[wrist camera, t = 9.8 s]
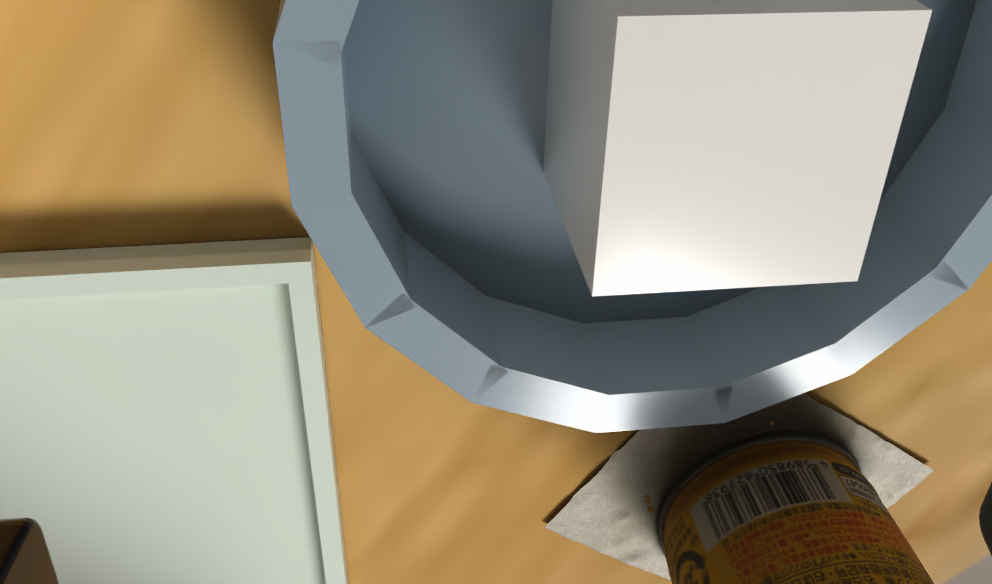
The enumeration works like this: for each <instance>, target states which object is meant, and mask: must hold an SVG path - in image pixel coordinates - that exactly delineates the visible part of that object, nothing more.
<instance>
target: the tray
mask: <svg viewBox="0 0 992 584" xmlns="http://www.w3.org/2000/svg"><path fill="white" fill-rule="evenodd" d="M14 518H32V519H34V520H36V521H37V522H38V524H39V525H40V527H41V529H42V531H43V534H44V538H45V541H46V544H47V547H48V550H49V553H50V556H51V560H52V563H53V566H54V569H55V572H56V575H57V578H58V582H59V584H349V582H348V573H347V563H346V554H345V544H344V535H343V525H342V516H341V506H340V497H339V487H338V478H337V468H336V459H335V449H334V440H333V430H332V421H331V411H330V402H329V392H328V383H327V373H326V364H325V354H324V345H323V335H322V326H321V316H320V307H319V297H318V288H317V279H316V269H315V260H314V250H313V241H312V239H311V237H302V238H283V239H263V240H244V241H224V242H205V243H186V244H166V245H147V246H127V247H108V248H88V249H69V250H49V251H30V252H10V253H0V519H14Z"/></svg>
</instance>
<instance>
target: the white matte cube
mask: <svg viewBox="0 0 992 584" xmlns="http://www.w3.org/2000/svg"><path fill="white" fill-rule="evenodd" d="M931 13H932V9H930V8H928V7H926V6H925V5H923V4H921V3H919V2H918V1H916V0H552V16H551V35H550V54H549V72H548V91H547V109H546V128H545V147H544V165H543V173H544V176H545V178H546V181H547V183H548V186H549V188H550V191H551V194H552V196H553V199H554V201H555V204H556V206H557V209H558V211H559V214H560V216H561V219H562V222H563V224H564V227H565V229H566V232H567V234H568V237H569V239H570V242H571V244H572V247H573V249H574V252H575V255H576V257H577V260H578V262H579V265H580V267H581V270H582V272H583V275H584V277H585V280H586V282H587V285H588V288H589V290H590V293H591V295H592V296H609V295H627V294H644V293H661V292H679V291H696V290H714V289H731V288H748V287H766V286H783V285H800V284H818V283H835V282H853V281H858V277H859V274H860V270H861V266H862V263H863V259H864V255H865V252H866V248H867V245H868V241H869V237H870V234H871V230H872V227H873V223H874V219H875V216H876V212H877V208H878V205H879V201H880V198H881V194H882V190H883V187H884V183H885V180H886V176H887V172H888V169H889V165H890V161H891V158H892V154H893V151H894V147H895V143H896V140H897V136H898V133H899V129H900V125H901V122H902V118H903V114H904V111H905V107H906V104H907V100H908V96H909V93H910V89H911V86H912V82H913V78H914V75H915V71H916V68H917V64H918V60H919V57H920V53H921V49H922V46H923V42H924V39H925V35H926V31H927V28H928V24H929V21H930V17H931Z"/></svg>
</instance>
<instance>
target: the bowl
mask: <svg viewBox="0 0 992 584" xmlns="http://www.w3.org/2000/svg"><path fill="white" fill-rule="evenodd" d="M916 1H918V2H919V3H921V4H923V5H925V6H926V7H928V8H930V9H932V13H931V17H930V21H929V24H928V28H927V31H926V35H925V39H924V42H923V46H922V49H921V53H920V57H919V60H918V64H917V68H916V71H915V75H914V78H913V82H912V86H911V89H910V93H909V96H908V100H907V104H906V107H905V111H904V114H903V118H902V122H901V125H900V129H899V133H898V136H897V140H896V143H895V147H894V151H893V154H892V158H891V161H890V165H889V169H888V172H887V176H886V180H885V183H884V187H883V190H882V194H881V198H880V201H879V205H878V208H877V212H876V216H875V219H874V223H873V227H872V230H871V234H870V237H869V241H868V245H867V248H866V252H865V255H864V259H863V263H862V266H861V270H860V274H859V277H858V281H853V282H835V283H818V284H800V285H783V286H766V287H748V288H731V289H714V290H696V291H679V292H661V293H644V294H627V295H609V296H592V295H591V293H590V290H589V288H588V285H587V282H586V280H585V277H584V275H583V272H582V270H581V267H580V265H579V262H578V260H577V257H576V255H575V252H574V249H573V247H572V244H571V242H570V239H569V237H568V234H567V232H566V229H565V227H564V224H563V222H562V219H561V216H560V214H559V211H558V209H557V206H556V204H555V201H554V199H553V196H552V194H551V191H550V188H549V186H548V183H547V181H546V178H545V176H544V173H543V165H544V147H545V128H546V109H547V91H548V72H549V54H550V35H551V16H552V0H281V1H280V6H279V11H278V16H277V21H276V27H275V32H274V37H273V42H272V43H273V51H274V60H275V68H276V77H277V85H278V94H279V102H280V111H281V120H282V128H283V137H284V145H285V154H286V162H287V171H288V180H289V188H290V197H291V206H292V208H293V209H294V211H295V213H296V214H297V216H298V218H299V219H300V221H301V223H302V224H303V226H304V228H305V229H306V231H307V233H308V234H309V236H310V237H311V239H312V241H313V242H314V244H315V246H316V247H317V249H318V251H319V252H320V254H321V256H322V257H323V259H324V261H325V262H326V264H327V265H328V267H329V269H330V270H331V272H332V274H333V275H334V277H335V279H336V280H337V282H338V284H339V285H340V287H341V289H342V290H343V292H344V294H345V295H346V297H347V298H348V300H349V302H350V303H351V305H352V307H353V308H354V310H355V312H356V313H357V315H358V317H359V318H360V320H361V322H362V323H363V325H364V326H365V328H366V329H368V330H369V331H371V332H372V333H373V334H375V335H376V336H378V337H379V338H381V339H382V340H383V341H385V342H386V343H388V344H389V345H391V346H392V347H393V348H395V349H396V350H398V351H399V352H401V353H402V354H403V355H405V356H406V357H408V358H409V359H410V360H412V361H413V362H415V363H416V364H418V365H419V366H420V367H422V368H423V369H425V370H426V371H428V372H429V373H430V374H432V375H433V376H435V377H436V378H438V379H439V380H440V381H442V382H443V383H445V384H446V385H448V386H449V387H450V388H452V389H453V390H455V391H456V392H458V393H459V394H460V395H462V396H463V397H465V398H466V399H467V400H469V401H470V402H472V403H475V404H480V405H484V406H488V407H492V408H496V409H500V410H504V411H508V412H512V413H516V414H520V415H524V416H528V417H532V418H536V419H540V420H544V421H548V422H552V423H556V424H560V425H564V426H569V427H573V428H577V429H581V430H585V431H589V432H593V433H604V432H616V431H629V430H642V429H654V428H667V427H680V426H693V425H705V424H718V423H726V422H729V421H731V420H734V419H737V418H739V417H742V416H745V415H747V414H750V413H752V412H755V411H758V410H760V409H763V408H766V407H768V406H771V405H774V404H776V403H779V402H781V401H784V400H787V399H789V398H792V397H795V396H797V395H800V394H802V393H805V392H808V391H810V390H813V389H816V388H818V387H821V386H823V385H826V384H829V383H831V382H834V381H837V380H839V379H842V378H845V377H847V376H850V375H852V374H854V373H855V372H856V371H858V370H859V369H860V368H862V367H863V366H865V365H866V364H867V363H869V362H870V361H871V360H873V359H874V358H876V357H877V356H878V355H880V354H881V353H882V352H884V351H885V350H886V349H888V348H889V347H891V346H892V345H893V344H895V343H896V342H897V341H899V340H900V339H902V338H903V337H904V336H906V335H907V334H908V333H910V332H911V331H913V330H914V329H915V328H917V327H918V326H919V325H921V324H922V323H923V322H925V321H926V320H928V319H929V318H930V317H932V316H933V315H934V314H936V313H937V312H939V311H940V310H941V309H943V308H944V307H945V306H947V305H948V304H949V303H951V302H952V301H954V300H955V299H956V298H958V297H959V296H960V295H962V294H963V293H965V292H966V291H967V290H969V288H970V287H971V286H972V285H973V283H974V282H975V281H976V279H977V278H978V277H979V276H980V274H981V273H982V272H983V271H984V269H985V268H986V267H987V266H988V264H989V263H990V262H991V260H992V0H916Z"/></svg>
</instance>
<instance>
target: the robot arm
mask: <svg viewBox="0 0 992 584" xmlns="http://www.w3.org/2000/svg"><path fill="white" fill-rule="evenodd" d="M979 521H980V528H981V532H982V535H983V537H984V540H985V542H986V544H987V546H988V549H989V551H990V553H991V556H992V483H991V485H990V487H989V490H988V492H987V494H986V496H985V499H984V501H983V503H982V505H981V508H980V514H979ZM0 584H59V582H58V578H57V575H56V572H55V569H54V566H53V563H52V560H51V556H50V553H49V550H48V547H47V544H46V541H45V538H44V534H43V531H42V529H41V527H40V525H39V524H38V522H37V521H36V520H34V519H32V518H14V519H0Z"/></svg>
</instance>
